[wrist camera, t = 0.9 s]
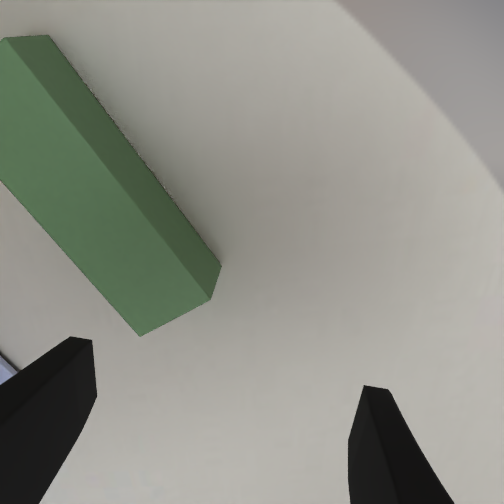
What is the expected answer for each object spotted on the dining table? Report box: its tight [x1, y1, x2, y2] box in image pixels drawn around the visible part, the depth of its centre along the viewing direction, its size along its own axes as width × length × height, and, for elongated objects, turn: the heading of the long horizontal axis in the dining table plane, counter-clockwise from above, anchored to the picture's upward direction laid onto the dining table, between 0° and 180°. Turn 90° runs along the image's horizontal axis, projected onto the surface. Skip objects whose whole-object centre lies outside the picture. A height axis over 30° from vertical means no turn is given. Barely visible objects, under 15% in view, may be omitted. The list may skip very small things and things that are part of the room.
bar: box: [0, 35, 222, 337], centre depth 19 cm, size 12×4×3 cm, turn 33°
